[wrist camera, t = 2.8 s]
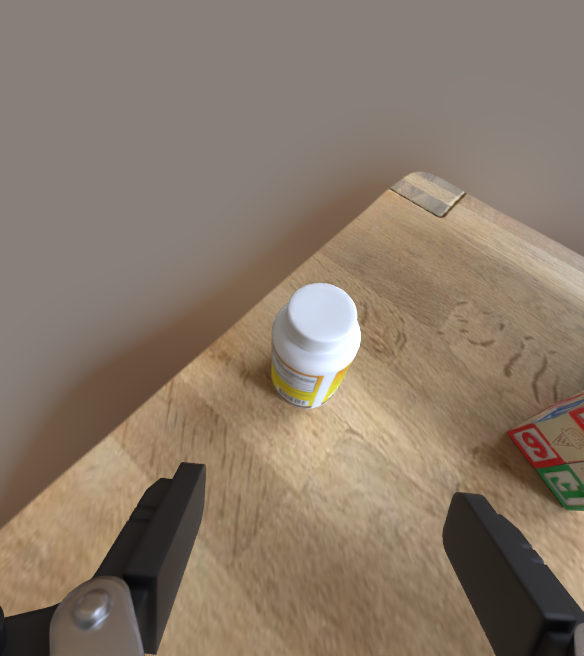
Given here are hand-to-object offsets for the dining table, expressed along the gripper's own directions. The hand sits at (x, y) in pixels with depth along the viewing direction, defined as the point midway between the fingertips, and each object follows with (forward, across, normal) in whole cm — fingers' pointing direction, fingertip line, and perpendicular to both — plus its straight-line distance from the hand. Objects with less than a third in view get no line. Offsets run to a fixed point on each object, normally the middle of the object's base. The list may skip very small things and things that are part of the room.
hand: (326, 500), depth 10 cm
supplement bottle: (+16, 0, +3) cm, 17 cm away
